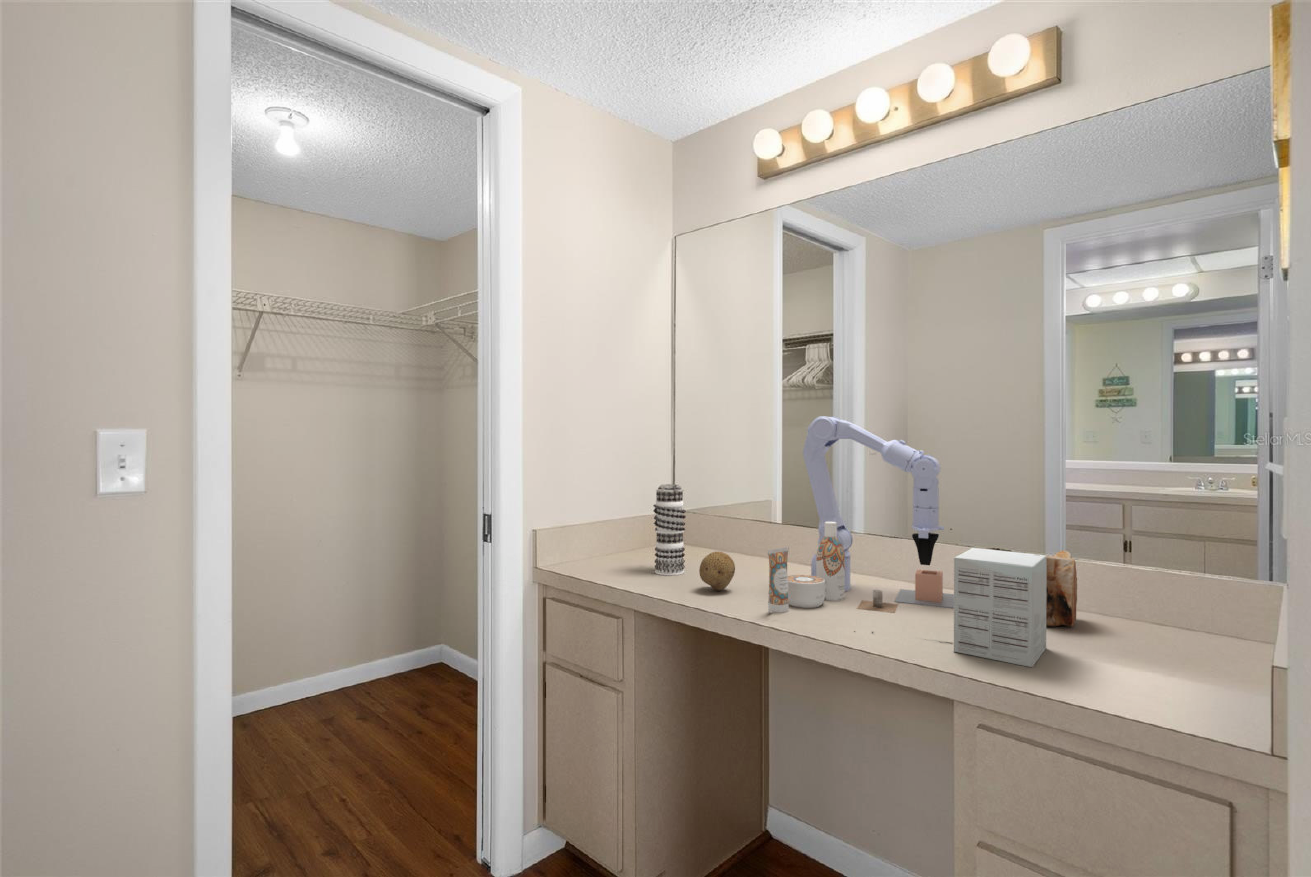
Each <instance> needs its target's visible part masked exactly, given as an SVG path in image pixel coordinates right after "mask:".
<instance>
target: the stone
mask: <svg viewBox="0 0 1311 877" xmlns="http://www.w3.org/2000/svg"><path fill="white" fill-rule="evenodd" d="M1045 556H1046V563H1047V586H1046V627H1050V628H1051V627H1052V628H1055V627H1059V626H1063V625H1064V626H1066V627H1074V625H1075V624H1076V620H1077V603H1078V577H1077V568H1076V566H1077V565H1076V561H1075V559H1074V558H1073V557H1072V554H1071V553H1070V552H1069V551H1067V550H1060V551H1057V553H1054V555H1045Z"/></svg>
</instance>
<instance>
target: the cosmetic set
mask: <svg viewBox="0 0 1311 877" xmlns="http://www.w3.org/2000/svg"><path fill="white" fill-rule="evenodd" d="M836 534H837V523H836V522H825V536H824V538H823V539H822V541H821V542H820V544H819V545H818V546H817V549H816V554H817V559H816V576H811V575H808V574H791V575H788V560H789V558H788V555H789V548H790V547H789V546H786V547H780V548H774V549H769V550H767V555H768V566H769V570H768V571H769V576H768V601H767V605H768V606H767V608H768V609H767V610H768V613H770V615H771V614H773V613H777V614H778V613H779V614H780V613H781V614H782V613H787V612H789V608H790V607H789V606H792V607H795V608H803V609H804V608H805V609H808V608H809V609H810V608H811V609H812V608H818V607H820V606H822V604H824V601H836V602H837V601H843V600H844V599H845V598H846V597H845V596H846V595H845V594H846V593H845V592H846V591H845V553H844V549H843V546H842V545H841V543H840V541H839V540H838V538H837V536H836Z"/></svg>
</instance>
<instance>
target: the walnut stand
mask: <svg viewBox="0 0 1311 877" xmlns="http://www.w3.org/2000/svg"><path fill="white" fill-rule="evenodd" d="M898 606H899V603H890V602H883V590H880V589H873V590H872V600H871V601H870V600H861V601H860V603H858V606H857V608H856V609H857V610H865V611H871V612H872V611H873V612H881V613H890V614H895V613H896V611H897V608H898Z"/></svg>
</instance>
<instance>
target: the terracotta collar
mask: <svg viewBox="0 0 1311 877" xmlns="http://www.w3.org/2000/svg"><path fill="white" fill-rule="evenodd" d="M914 576H915V577H914V578H915V580H914V583H915V584H914V587H915V589H914V590H915V600H924V601H934V602H941V601H942V597H943V592H944V591H943V590H944V589H943V587H944V586H943V584H944V582H943V580H944V577H943V576H944V571H939V570H929V569H917V570H916V571H915V575H914Z"/></svg>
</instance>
